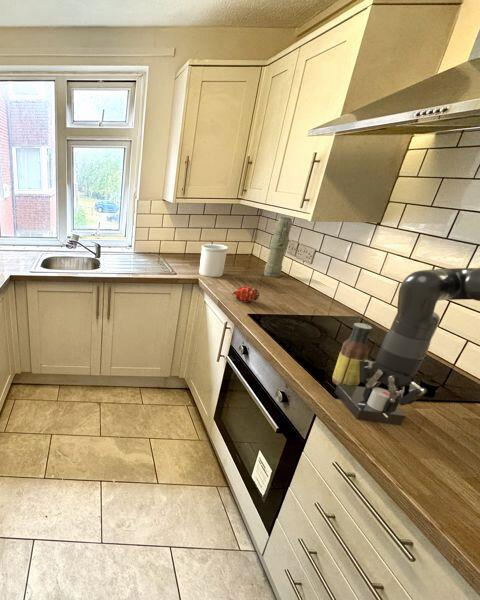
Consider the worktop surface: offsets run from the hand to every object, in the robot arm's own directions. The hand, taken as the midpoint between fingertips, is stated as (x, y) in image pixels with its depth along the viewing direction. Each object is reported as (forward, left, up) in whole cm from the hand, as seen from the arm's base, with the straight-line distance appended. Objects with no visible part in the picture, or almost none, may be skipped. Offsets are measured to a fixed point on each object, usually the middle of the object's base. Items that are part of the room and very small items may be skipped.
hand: (377, 405), depth 82 cm
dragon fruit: (+12, -78, -3) cm, 79 cm away
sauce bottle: (0, -13, -3) cm, 14 cm away
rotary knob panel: (0, -3, -3) cm, 4 cm away
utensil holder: (+21, -122, -3) cm, 124 cm away
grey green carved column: (-16, -127, -3) cm, 128 cm away
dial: (0, 0, 0) cm, 0 cm away
